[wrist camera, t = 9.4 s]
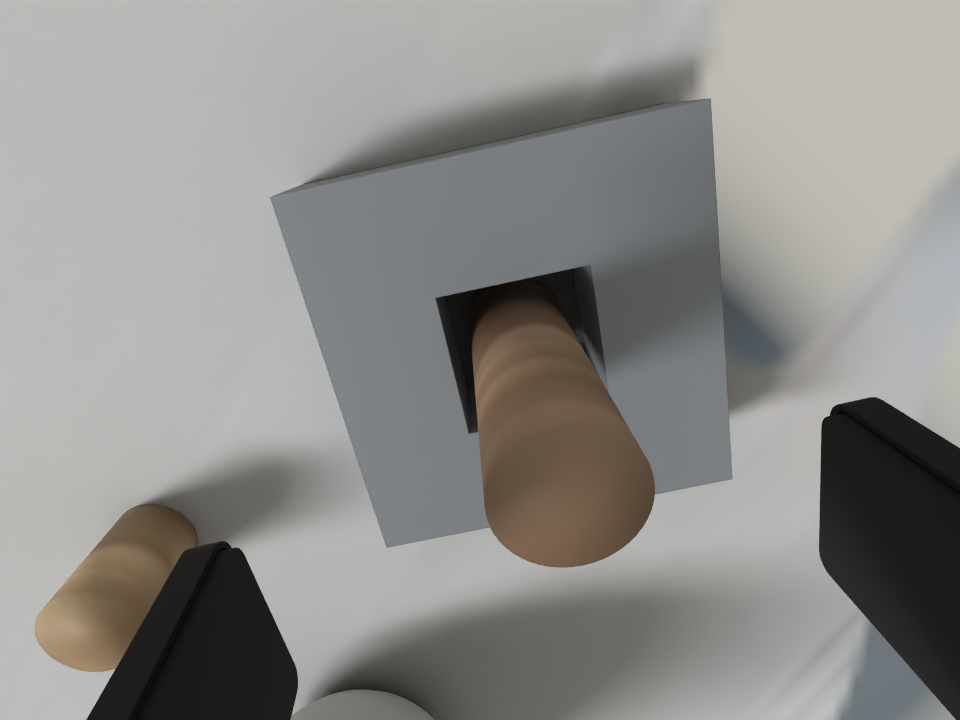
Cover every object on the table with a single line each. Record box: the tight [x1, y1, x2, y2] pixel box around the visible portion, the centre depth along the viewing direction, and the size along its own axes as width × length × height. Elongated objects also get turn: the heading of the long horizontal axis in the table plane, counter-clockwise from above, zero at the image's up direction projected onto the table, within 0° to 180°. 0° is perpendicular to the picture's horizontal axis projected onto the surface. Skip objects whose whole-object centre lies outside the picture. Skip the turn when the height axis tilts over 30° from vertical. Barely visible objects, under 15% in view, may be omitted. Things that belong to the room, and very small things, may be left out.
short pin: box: [35, 505, 198, 672], centre depth 22 cm, size 3×3×5 cm
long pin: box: [469, 278, 655, 567], centre depth 16 cm, size 3×3×11 cm
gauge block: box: [270, 99, 732, 548], centre depth 20 cm, size 12×12×4 cm
